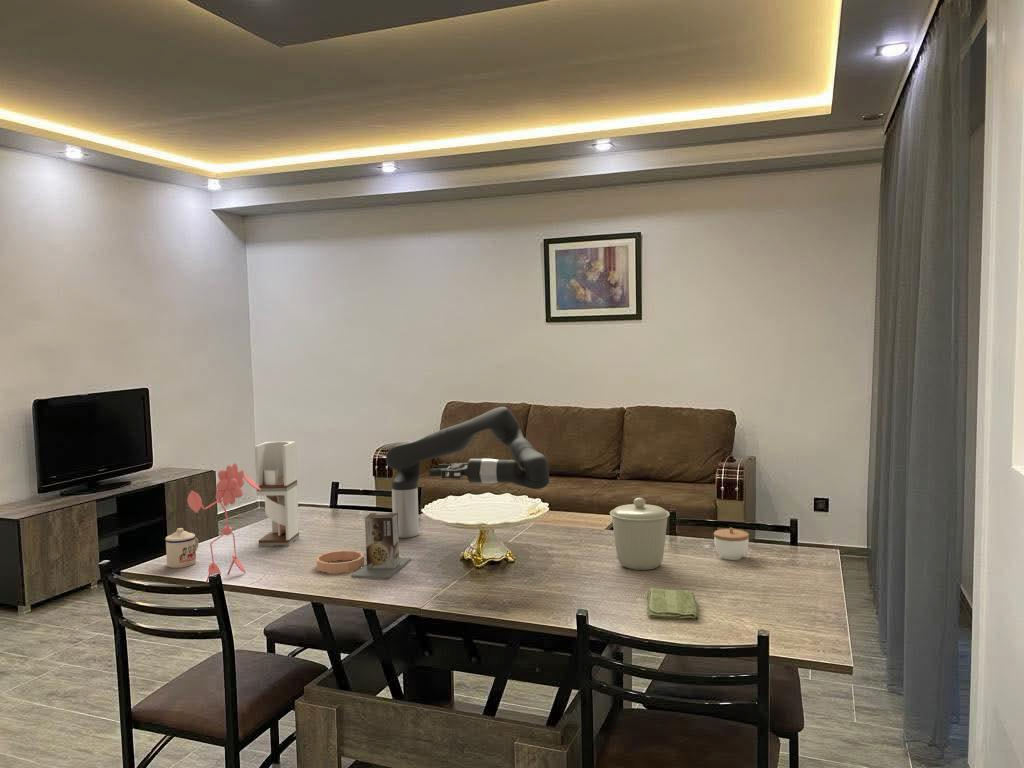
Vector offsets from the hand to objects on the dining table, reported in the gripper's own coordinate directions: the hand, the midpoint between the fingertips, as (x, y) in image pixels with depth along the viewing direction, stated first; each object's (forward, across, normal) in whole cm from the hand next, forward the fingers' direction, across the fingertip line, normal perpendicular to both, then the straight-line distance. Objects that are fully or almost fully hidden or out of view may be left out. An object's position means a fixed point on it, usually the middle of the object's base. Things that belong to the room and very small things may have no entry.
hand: (433, 470), depth 242 cm
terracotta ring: (+30, +6, +30) cm, 43 cm away
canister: (-63, -8, +30) cm, 70 cm away
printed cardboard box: (+15, +6, +30) cm, 34 cm away
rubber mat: (+16, +6, +30) cm, 34 cm away
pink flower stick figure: (+55, +24, +30) cm, 67 cm away
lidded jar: (-91, -21, +30) cm, 98 cm away
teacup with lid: (+82, +10, +30) cm, 88 cm away
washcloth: (-73, +28, +31) cm, 84 cm away
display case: (+64, -19, +30) cm, 73 cm away
